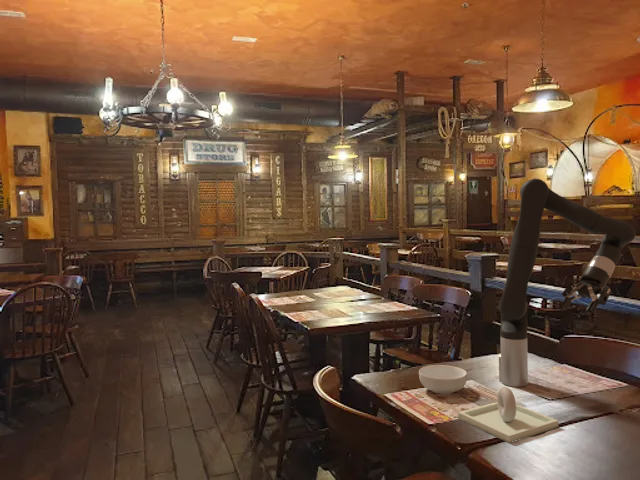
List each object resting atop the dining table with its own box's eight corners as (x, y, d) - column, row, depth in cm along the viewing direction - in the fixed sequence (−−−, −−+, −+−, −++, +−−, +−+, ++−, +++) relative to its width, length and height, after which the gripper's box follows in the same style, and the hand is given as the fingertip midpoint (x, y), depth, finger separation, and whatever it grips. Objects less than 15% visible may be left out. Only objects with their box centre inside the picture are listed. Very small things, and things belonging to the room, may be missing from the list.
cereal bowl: (448, 402, 171) (448, 382, 171) (409, 391, 184) (409, 371, 183) (476, 390, 182) (476, 370, 182) (437, 379, 195) (437, 361, 194)
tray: (458, 418, 157) (458, 412, 157) (504, 405, 166) (504, 399, 166) (509, 443, 140) (509, 436, 140) (558, 427, 149) (558, 420, 149)
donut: (518, 427, 148) (517, 393, 148) (506, 427, 148) (505, 393, 148) (507, 414, 158) (506, 382, 158) (496, 414, 158) (495, 382, 158)
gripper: (573, 263, 174) (551, 300, 170) (613, 266, 162) (590, 306, 157) (583, 277, 177) (562, 314, 172) (624, 281, 164) (602, 321, 160)
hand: (575, 310), depth 165 cm, fingers open, 8 cm apart
